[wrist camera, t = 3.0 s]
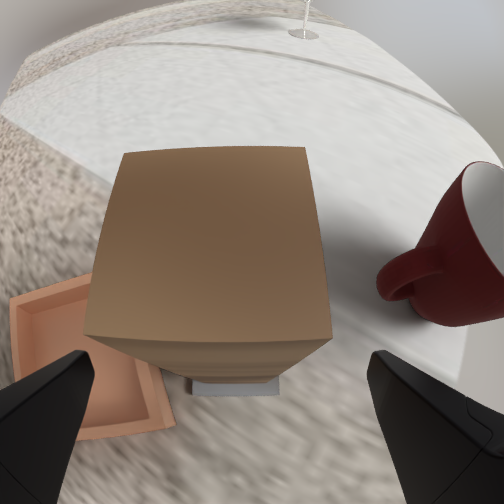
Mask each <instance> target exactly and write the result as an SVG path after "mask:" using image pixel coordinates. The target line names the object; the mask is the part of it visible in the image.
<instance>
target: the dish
mask: <svg viewBox="0 0 504 504" xmlns="http://www.w3.org/2000/svg"><path fill="white" fill-rule="evenodd" d="M91 277H92V272H91V273H88V274H85V275H82V276H78V277H75V278H72V279H69V280H66V281H62V282H59V283H56V284H53V285H50V286H47V287H44V288H40V289H37V290H34V291H31V292H28V293H25V294H22V295H19V296H16V297H13V298H10V336H11V350H12V361H13V370H14V378H15V382H17V381H19V380H20V379H22V378H24V377H26V376H28V375H30V374H32V373H33V372H35V371H37V370H39V369H41V368H43V367H44V366H46V365H48V364H50V363H52V362H54V361H56V360H57V359H59V358H61V357H63V356H65V355H67V354H68V353H70V352H72V351H74V350H85V351H87V352H88V353H89V356H90V359H91V362H92V365H93V367H94V371H95V378H94V381H93V385H92V389H91V393H90V396H89V400H88V404H87V408H86V412H85V415H84V418H83V421H82V424H81V427H80V430H79V432H78V435H77V438H76V441H78V440H90V439H100V438H109V437H117V436H125V435H132V434H138V433H144V432H150V431H156V430H161V429H166V428H169V427H172V426H174V425H177V424H176V421H175V418H174V415H173V412H172V408H171V405H170V402H169V399H168V395H167V392H166V388H165V385H164V381H163V377H162V374H161V370H160V367H157V366H154V365H152V364H149V363H147V362H144V361H142V360H139V359H137V358H134V357H132V356H129V355H127V354H125V353H122V352H120V351H118V350H115V349H113V348H111V347H109V346H106V345H104V344H102V343H100V342H98V341H96V340H93V339H91V338H89V337H87V336H85V335H83V329H84V321H85V314H86V307H87V300H88V294H89V288H90V282H91Z"/></svg>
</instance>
